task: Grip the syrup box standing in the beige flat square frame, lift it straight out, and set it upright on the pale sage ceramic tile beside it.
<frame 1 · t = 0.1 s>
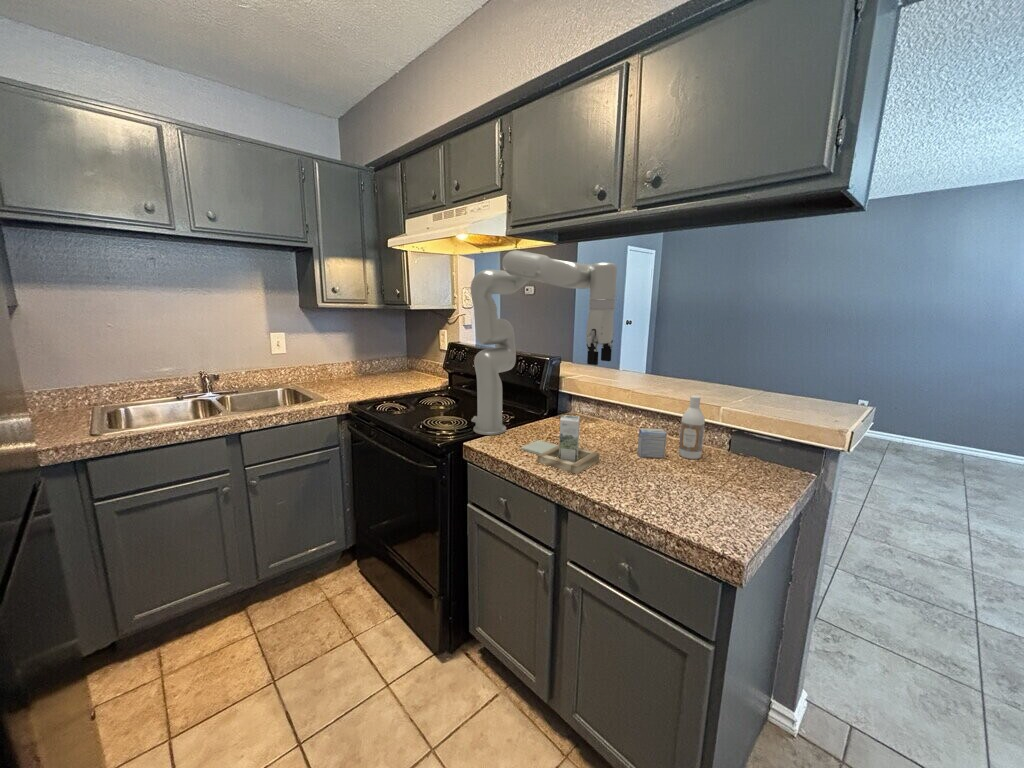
hand: (599, 362, 128), 31 cm above the worktop, tool pointing down, fingers open, 9 cm apart
bath foam: (689, 456, 138), on the worktop
syrup box: (568, 462, 132), resting in beige flat square frame
beige flat square frame: (568, 461, 132), on the worktop
medicine box: (650, 456, 138), on the worktop
sage tile: (541, 448, 143), on the worktop
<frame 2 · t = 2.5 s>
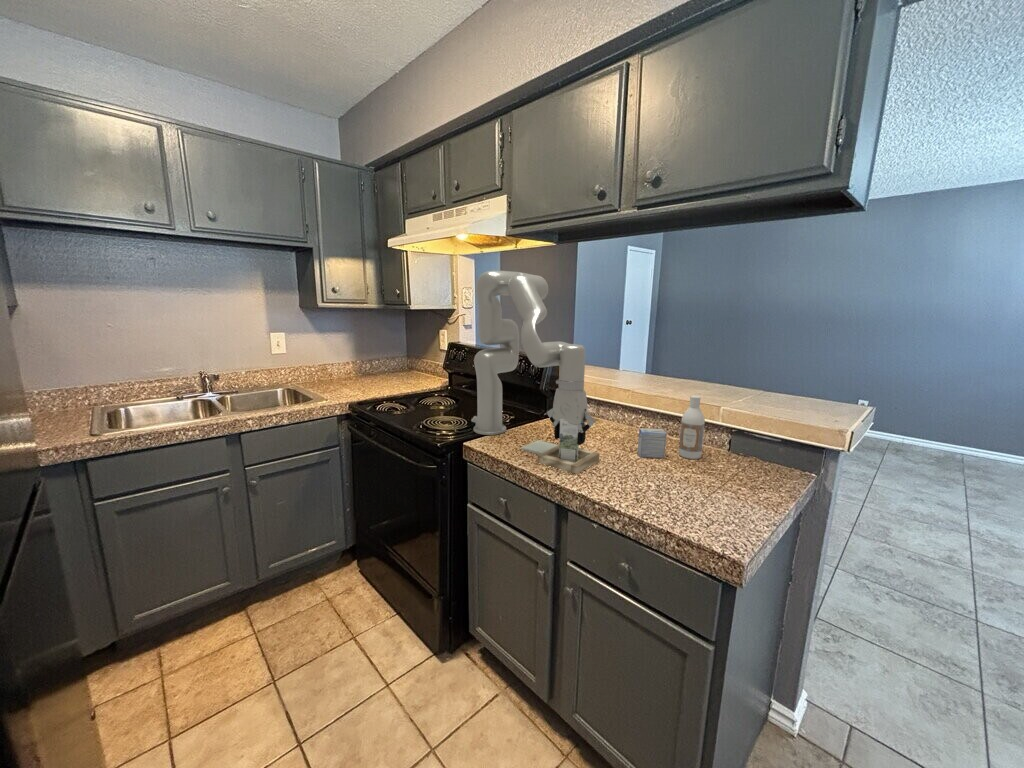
hand: (569, 440, 130), 7 cm above the worktop, tool pointing down, fingers closed on syrup box, 7 cm apart
syrup box: (568, 462, 132), resting in beige flat square frame, touching gripper
everything else where it was.
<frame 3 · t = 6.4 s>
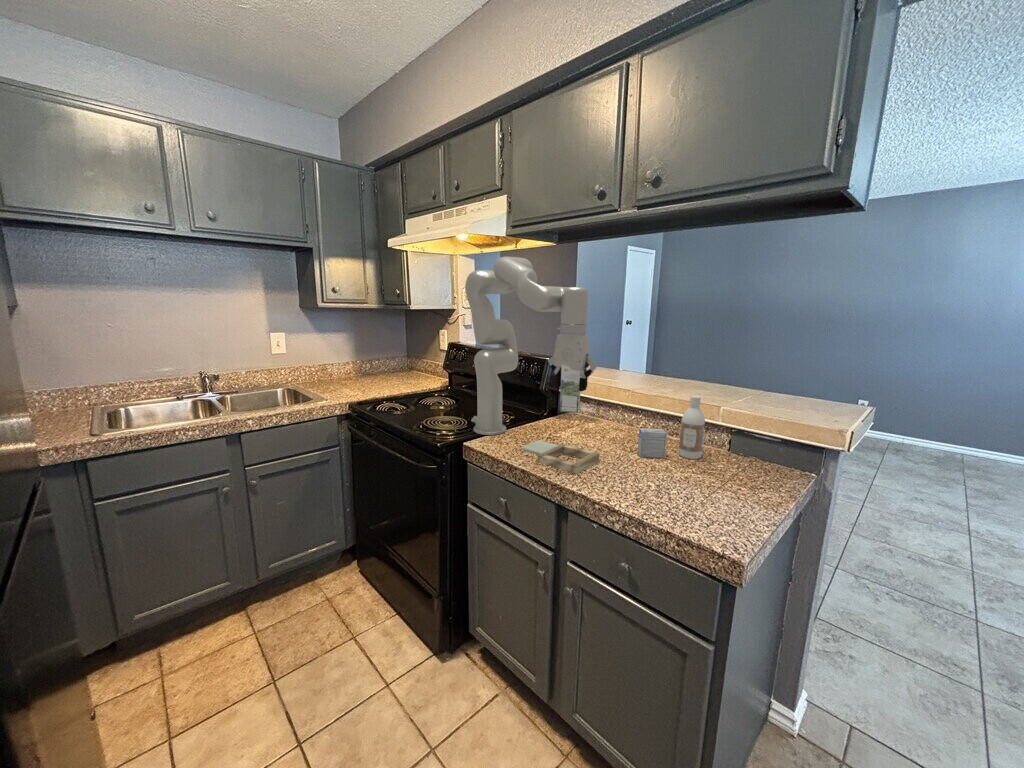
hand: (570, 388, 127), 24 cm above the worktop, tool pointing down, fingers closed on syrup box, 7 cm apart
syrup box: (569, 411, 128), point 16 cm above the worktop, touching gripper
everything else where it was.
when the fingers open (9 cm above the worktop, at t = 10.3 s): syrup box drops 1 cm, resting on sage tile.
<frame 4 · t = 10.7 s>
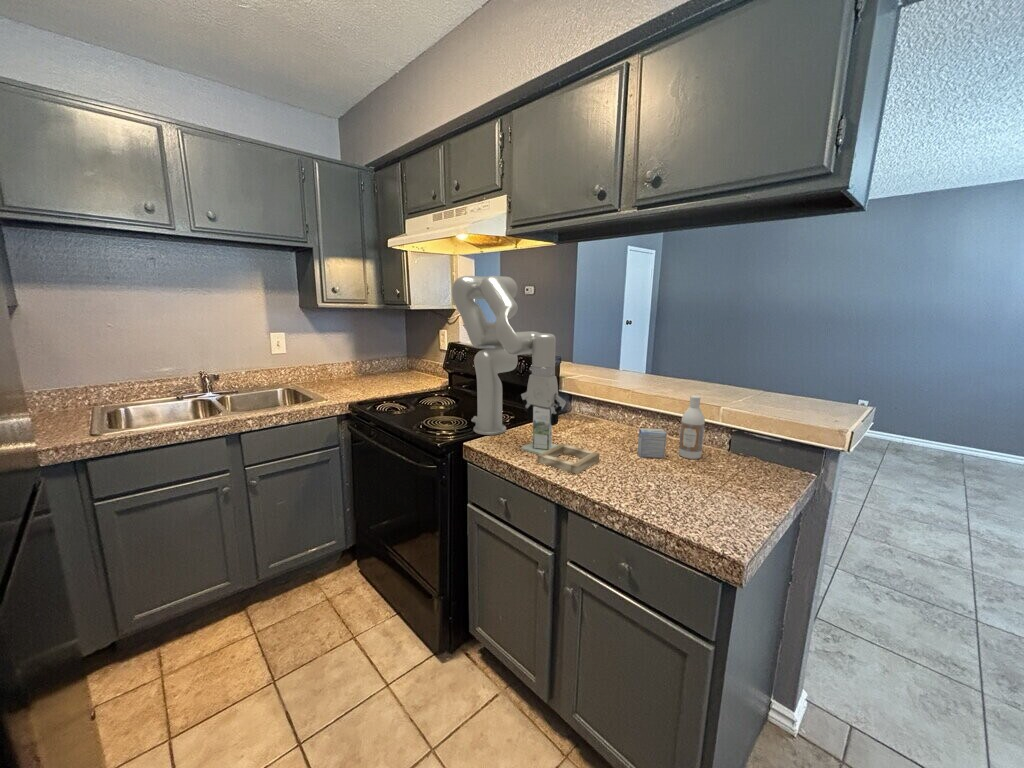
hand: (542, 421, 141), 10 cm above the worktop, tool pointing down, fingers open, 9 cm apart
syrup box: (542, 447, 142), point 1 cm above the worktop, touching sage tile
everything else where it was.
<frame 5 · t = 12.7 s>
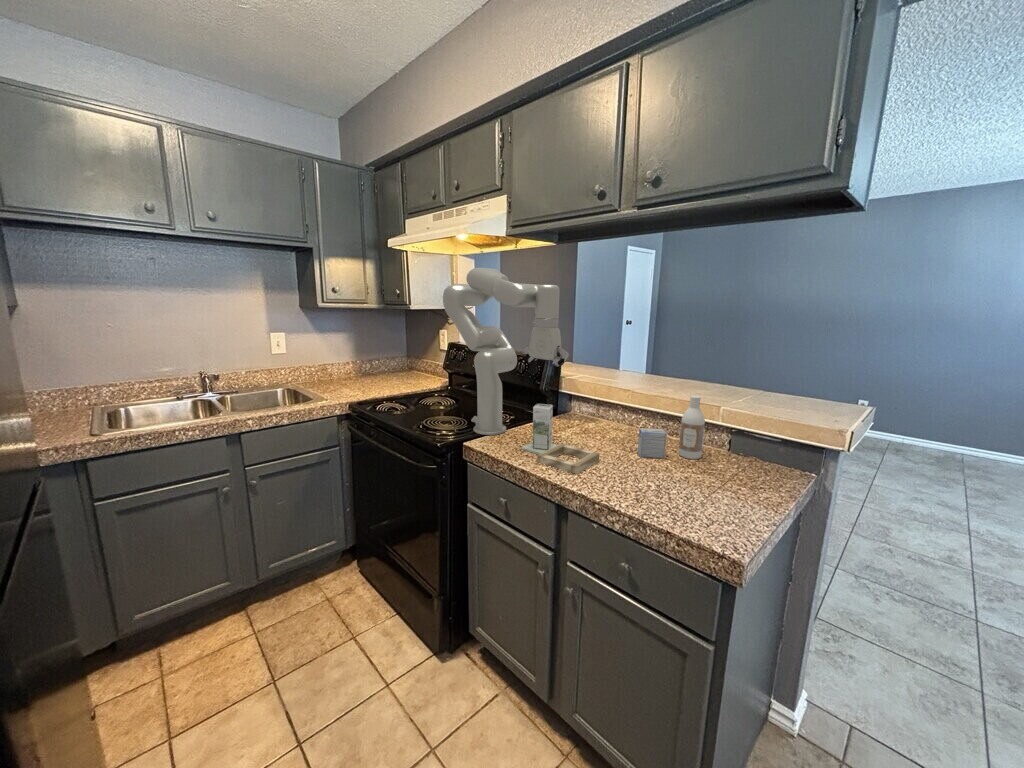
hand: (544, 375, 139), 25 cm above the worktop, tool pointing down, fingers open, 9 cm apart
nothing on the worktop moved.
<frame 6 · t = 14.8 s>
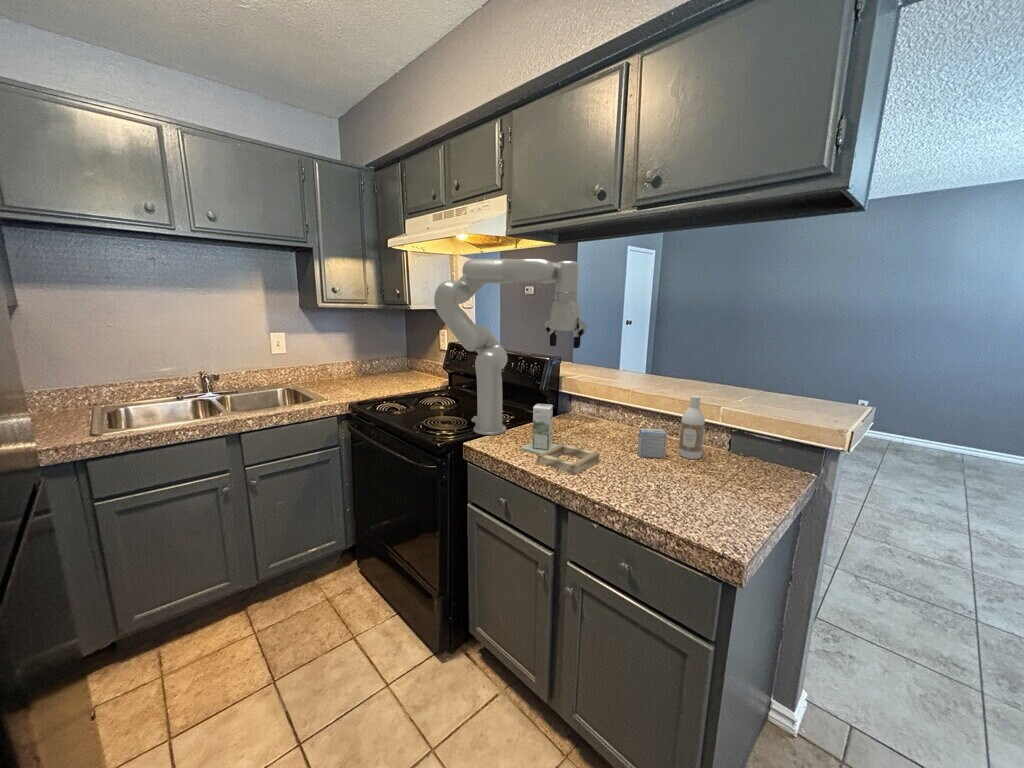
hand: (564, 346, 149), 33 cm above the worktop, tool pointing down, fingers open, 9 cm apart
nothing on the worktop moved.
at the end: syrup box inside the target area on the sage tile (0.2 cm from its centre), point 0.6 cm above the sage tile's base; syrup box tilted 0°; the gripper is holding nothing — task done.
